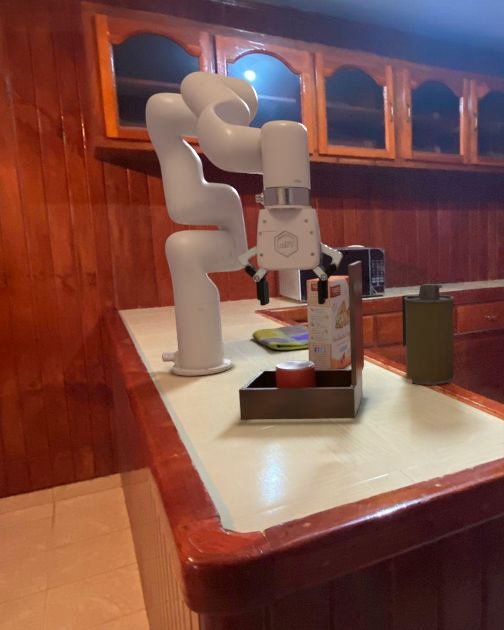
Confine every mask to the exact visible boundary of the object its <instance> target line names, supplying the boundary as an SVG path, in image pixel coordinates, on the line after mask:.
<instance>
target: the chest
mask: <svg viewBox="0 0 504 630" xmlns="http://www.w3.org/2000/svg"><path fill="white" fill-rule="evenodd" d="M315 382H316V388H277V386H276V369H260V371H258V373H256V374H255V375H254V376H253V377H252V378H250V379H249V380H248V381H247V382H246V383H245V384H243V386H242V387H240V388H239V389H238V397H239V413H240V420H241V421H243V420H244V421H247V420H248V421H249V420H250V421H251V420H252V421H254V420H261V421H262V420H332V419H333V420H334V419H335V420H336V419H338V420H339V419H342V420H343V419H344V420H345V419H346V420H347V419H356V417H357V414H358V410H359V408H360V405H361V402H362V398H363V395H364V394H363V392H364V391H363V389H364V388H363V372H362V373H361V375H360V378H359V380H358V383H357V385H356V386H352V379H351V368H342V369H315Z"/></svg>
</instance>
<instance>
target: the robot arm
mask: <svg viewBox="0 0 504 630" xmlns="http://www.w3.org/2000/svg"><path fill="white" fill-rule="evenodd" d="M179 90H180V93H174V92H159V93H155V94H153V95H151V96H149V98H148V100H147V102H146V106H145V125H146V130H147V134H148V137H149V140H150V142H151V145H152V146H153V149H154V151H155V153H156V155H157V159H158V161H159V166H160V172H161V180H162V186H163V192H164V199H165V205H166V206H165V207H166V210H167V213H168V217H169V218H170V220H171V221H172V222H174V223H176V224H180V225H187V226H216V227H217V228H218V229H217V230H216V229H214V230H213V229H211V230H210V229H188V230H187V229H186V230H181V231H176V232H173V233H172V234H170V235H169V236H168V237H167V239H166V241H165V245H164V252H165V257H166V260H167V261H166V262H167V264H168V269H169V273H170V278H171V283H172V293H173V305H174V315H175V326H176V327H175V328H176V340H177V341H176V342H177V350H176V351H174V352H172V351H163V352H162V354H161V360H162V362H164V363H169V362H173V363H174V365H172V367H171V371H172V373H173V375H177V376H184V377H185V376H186V377H189V376H190V377H192V376H193V377H194V376H205V375H214V374H219V373H221V372H225V371H227V370H229V369H231V367H232V361H231V360H230V359H227V358H224V356H225V355H224V343H223V341H224V340H223V326H222V310H221V298H220V297H221V295H220V291H219V289H218V287H217V285H216V284H215V283H214V282H213V281H212V279H211V278H210V277H209V276H208V274H210V273H225V272H227V273H229V272H236V271H241V270H243V269H244V272H245V273H246V274H247V275H249V277H250V278H252V279H253V281H254V282H255V286H256V299H257V301H259V305H260V306H261V307H262V306H266V305H269V304H270V288H269V281H268V280H267V276H268V275H269V274H270V273H271V272H272V271H306V270H312V271H313V272H314V273H315V275H316V276H317V277H318V278H319V281H317V289H318V304H324V303H325V299H328V279H329V278H330V276H333V275H334V273H335V272H336V271H337V270H338V269H339V266H340V264H341V262H342V260H343V258H344V254H343V252H341V251H339V250H337V249H334V248H332V247H331V246H328V245H326V244H324V243H322V236H321V229H320V224H319V218H318V215H317V211H316V209H315V208H312V190H311V189H312V187H311V169H310V168H311V167H310V165H311V164H310V147H309V133H308V129H307V127H306V126H305V125H304V124H302V123H300V122H297V121H293V120H282V119H281V120H280V119H279V120H270V121H267V122H264V124H263V125H262V126H261V128H258V127H252V126H250V123H252V122H253V120H254V119H255V117H256V115H257V113H258V110H259V97H258V95H257V92H256V89H255V87H253V85H252V84H251V83H249V82H248V81H246V80H245V79H243V78H239V77H234V76H230V75H229V76H228V75H224V74H221V73H220V74H219V73H214V72H210V71H194V72H191V73H189V74H187V75H186V76H185V77H184V78H183V79H182V80H181V84H180V89H179ZM183 137H186V138H192V139H197V141H198V145H199V147H200V150H201V152H202V153H203V154H204V156H205V157H206V158H207V159H208V160H209V162H211V163H212V164H213V165H214V166H215V167H217V168H218V169H220V170H222V171H225V172H229V173H242V174H244V173H246V174H258V175H262V183H263V189H262V192H261V193H259V194H255V196H254V197H255V198H254V199H255V202H256V204H257V203H260V204H262V205H263V207H264V208H261V209H259V210H258V219H257V231H256V245H255V246H253V247H251V248H250V249H249V248H248V240H247V231H246V225H245V224H246V223H245V217H244V211H243V205H242V200H241V197H240V195H239V193H238V191H237V190H236V188H234V187H233V186H231V185H230V184H226V183H221V182H220V183H218V182H208V181H206V179H205V176H204V171H203V163H202V159H201V158H200V156H199V155H198V153H197V152H196V150H195V149H194V148H193V147H192V146H191V145H190V144H189V143H188V142H187V141H186V140H185V139H184V138H183ZM323 254H325V255H327V256H330V257H331V258H332V260H331V263H330V265H329V266H327V268H325V267H324V266H323V261H324V260H323V259H324V258H323V257H324V256H323ZM254 257H256V262H257V266H258V269H257V268H256V267H255V266H254V265H253V264H252V262H251V259H252V258H254Z"/></svg>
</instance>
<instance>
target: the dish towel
mask: <svg viewBox="0 0 504 630" xmlns="http://www.w3.org/2000/svg"><path fill="white" fill-rule="evenodd" d="M252 338H253V339H254V340H255V341H257V342H258V343H260V344H261V345H262V346H265V347H267V348H270V349H272V350H275V351H290V350H292V351H293V350H302V349H309V348H308V326H305V325H304V324H297V325H287V326H280V327H275V328H261V329H257V330H255V331H254V332H253V333H252Z"/></svg>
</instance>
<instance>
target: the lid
mask: <svg viewBox="0 0 504 630" xmlns="http://www.w3.org/2000/svg"><path fill="white" fill-rule="evenodd" d="M362 271H363V270H362V260H357V261H355V262H352V263H350V264H348V265H347V273H348V275H347V276H348V279H349V312H350V346H351V362H350V369H351V379H352V386H356V385H357V383H358V380H359V378H360V375H361V373H362V374H363V370H364V367H365V352H364V351H365V348H364V347H365V346H364V311H363V310H364V309H363V274H362Z"/></svg>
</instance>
